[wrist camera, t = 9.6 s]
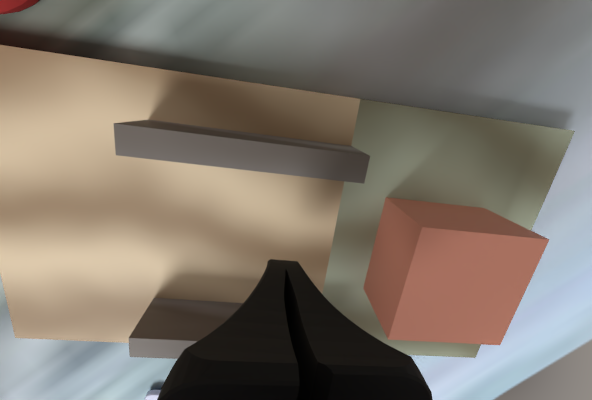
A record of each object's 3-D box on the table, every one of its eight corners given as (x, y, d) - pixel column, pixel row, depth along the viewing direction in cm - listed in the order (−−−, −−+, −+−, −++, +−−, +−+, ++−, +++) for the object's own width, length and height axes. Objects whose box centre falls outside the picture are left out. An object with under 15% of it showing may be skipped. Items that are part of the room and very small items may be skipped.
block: (452, 294, 18) (499, 345, 14) (363, 288, 17) (388, 339, 13) (484, 207, 16) (549, 239, 12) (385, 197, 15) (422, 227, 12)
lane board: (466, 346, 21) (508, 399, 17) (29, 325, 17) (-39, 385, 14) (556, 129, 16) (645, 136, 12) (-30, 41, 12) (-162, 13, 9)
